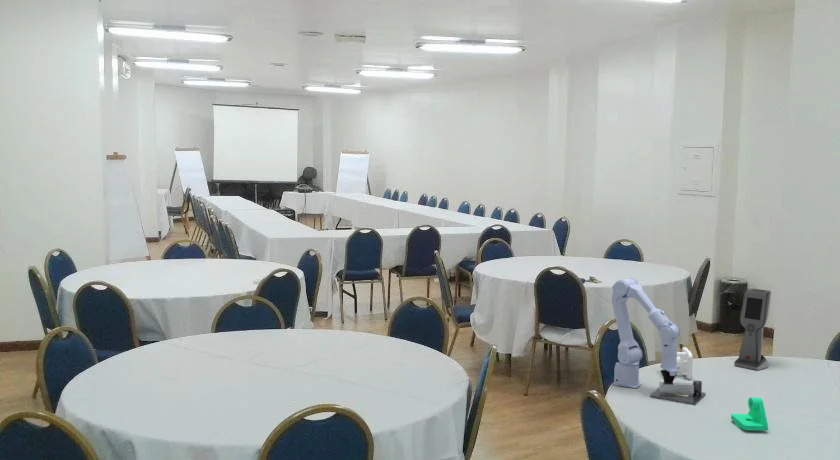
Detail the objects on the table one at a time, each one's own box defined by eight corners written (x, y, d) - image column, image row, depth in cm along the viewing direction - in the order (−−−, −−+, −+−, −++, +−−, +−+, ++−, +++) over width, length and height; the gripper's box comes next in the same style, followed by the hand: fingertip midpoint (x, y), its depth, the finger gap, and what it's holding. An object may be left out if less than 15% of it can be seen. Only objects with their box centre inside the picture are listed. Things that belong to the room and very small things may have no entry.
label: (674, 394, 270) (674, 393, 270) (677, 391, 274) (677, 390, 274) (687, 396, 267) (687, 395, 267) (690, 393, 271) (690, 392, 271)
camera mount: (730, 421, 242) (730, 392, 242) (752, 421, 242) (753, 392, 242) (744, 433, 231) (745, 403, 230) (767, 433, 230) (768, 403, 230)
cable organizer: (692, 381, 291) (693, 354, 290) (666, 380, 293) (667, 353, 292) (685, 372, 306) (685, 346, 305) (660, 371, 308) (661, 345, 307)
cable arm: (700, 393, 271) (700, 380, 270) (702, 396, 268) (702, 383, 267) (659, 392, 273) (659, 379, 272) (660, 394, 270) (661, 381, 269)
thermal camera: (772, 366, 315) (774, 290, 313) (758, 371, 307) (760, 293, 305) (747, 361, 324) (749, 287, 322) (732, 365, 317) (735, 290, 314)
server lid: (649, 397, 269) (649, 395, 269) (661, 387, 282) (661, 385, 282) (695, 405, 259) (695, 403, 259) (705, 394, 272) (705, 392, 272)
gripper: (684, 359, 265) (683, 394, 265) (675, 350, 279) (674, 383, 280) (665, 359, 265) (664, 393, 266) (657, 350, 280) (656, 383, 281)
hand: (668, 388), depth 273 cm, fingers closed
